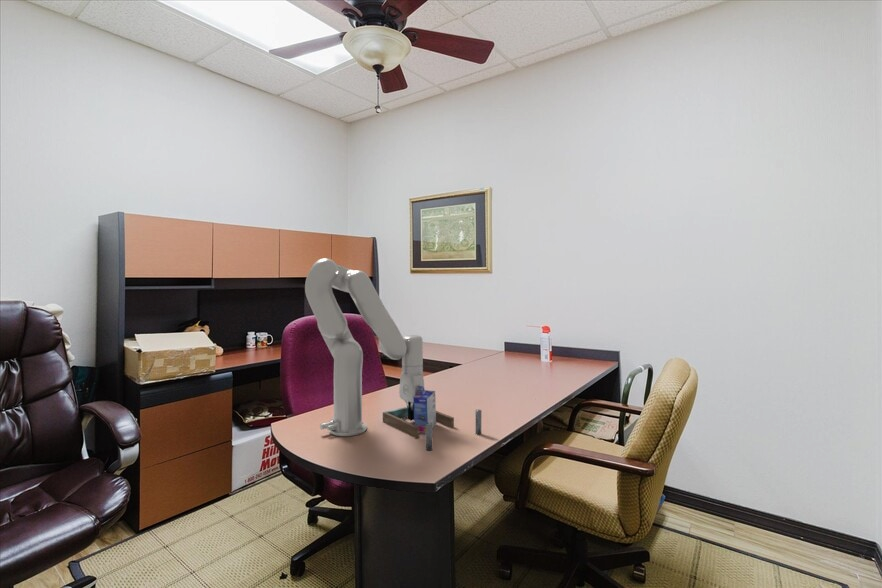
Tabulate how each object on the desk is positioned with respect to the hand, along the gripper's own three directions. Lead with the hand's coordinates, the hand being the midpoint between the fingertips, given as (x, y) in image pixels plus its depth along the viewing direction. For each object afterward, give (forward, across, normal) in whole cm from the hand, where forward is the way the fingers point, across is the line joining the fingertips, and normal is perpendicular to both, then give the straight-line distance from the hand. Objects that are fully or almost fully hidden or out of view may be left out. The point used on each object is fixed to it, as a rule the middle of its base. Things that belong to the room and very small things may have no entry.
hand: (412, 419), depth 153 cm
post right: (+1, +24, +10) cm, 26 cm away
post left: (+1, +24, -11) cm, 26 cm away
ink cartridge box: (+1, +8, 0) cm, 8 cm away
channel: (+1, +4, 0) cm, 4 cm away
